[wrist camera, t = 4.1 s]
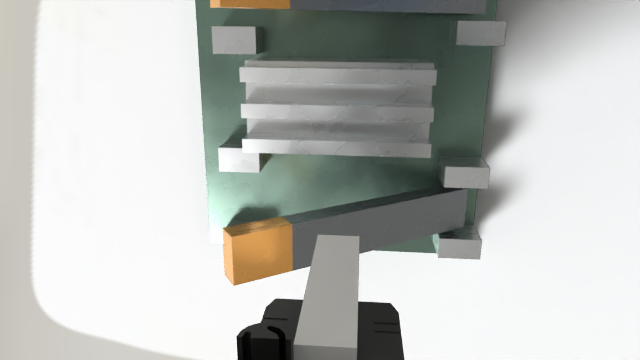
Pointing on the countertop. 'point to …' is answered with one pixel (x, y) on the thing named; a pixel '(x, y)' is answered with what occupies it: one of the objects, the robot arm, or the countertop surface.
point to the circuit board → (343, 111)
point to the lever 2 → (339, 230)
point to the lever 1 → (362, 5)
